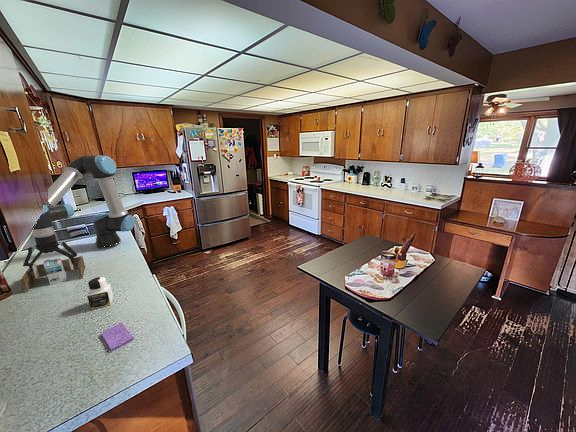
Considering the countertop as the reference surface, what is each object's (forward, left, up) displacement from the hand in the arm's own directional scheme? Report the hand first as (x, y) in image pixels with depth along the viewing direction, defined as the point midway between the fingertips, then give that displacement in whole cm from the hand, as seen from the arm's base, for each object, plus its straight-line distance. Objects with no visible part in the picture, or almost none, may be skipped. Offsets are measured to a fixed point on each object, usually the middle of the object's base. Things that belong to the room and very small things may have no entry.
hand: (55, 273), depth 125 cm
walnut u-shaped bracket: (0, -1, -4) cm, 4 cm away
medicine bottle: (-20, +41, -4) cm, 46 cm away
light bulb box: (0, 0, -4) cm, 4 cm away
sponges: (-25, +70, -5) cm, 74 cm away
